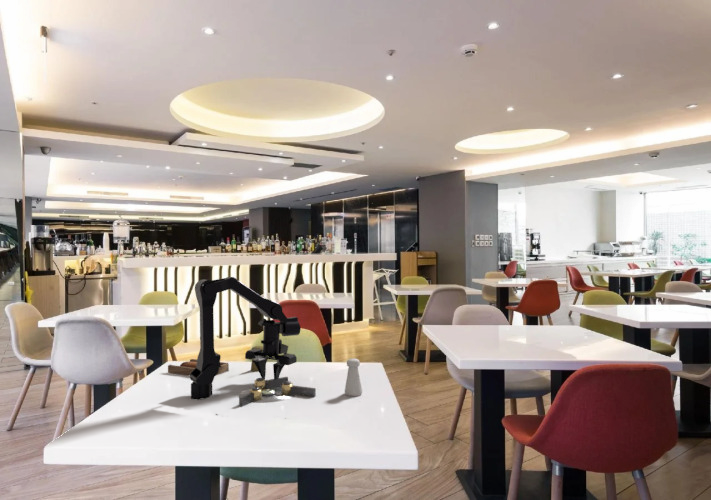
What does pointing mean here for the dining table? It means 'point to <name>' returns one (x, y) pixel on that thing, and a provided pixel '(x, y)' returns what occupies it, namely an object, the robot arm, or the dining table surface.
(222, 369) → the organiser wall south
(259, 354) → the robot arm
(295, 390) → the knob right
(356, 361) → the salt shaker
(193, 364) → the sunglasses case
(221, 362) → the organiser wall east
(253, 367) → the cork
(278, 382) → the knob left
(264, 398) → the levelling base
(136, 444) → the dining table surface
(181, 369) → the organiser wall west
